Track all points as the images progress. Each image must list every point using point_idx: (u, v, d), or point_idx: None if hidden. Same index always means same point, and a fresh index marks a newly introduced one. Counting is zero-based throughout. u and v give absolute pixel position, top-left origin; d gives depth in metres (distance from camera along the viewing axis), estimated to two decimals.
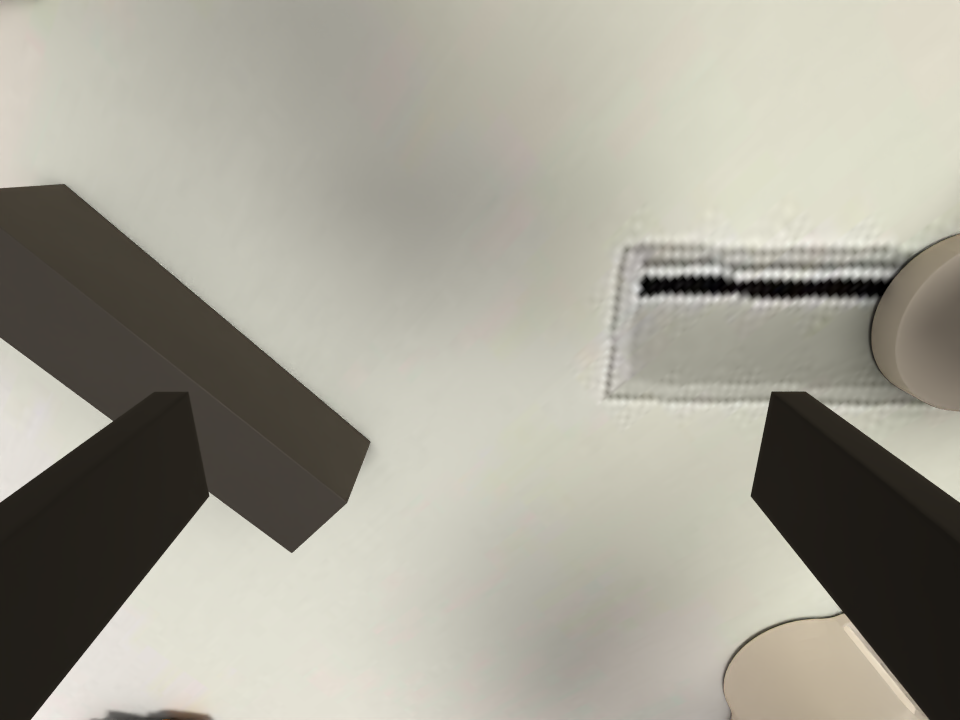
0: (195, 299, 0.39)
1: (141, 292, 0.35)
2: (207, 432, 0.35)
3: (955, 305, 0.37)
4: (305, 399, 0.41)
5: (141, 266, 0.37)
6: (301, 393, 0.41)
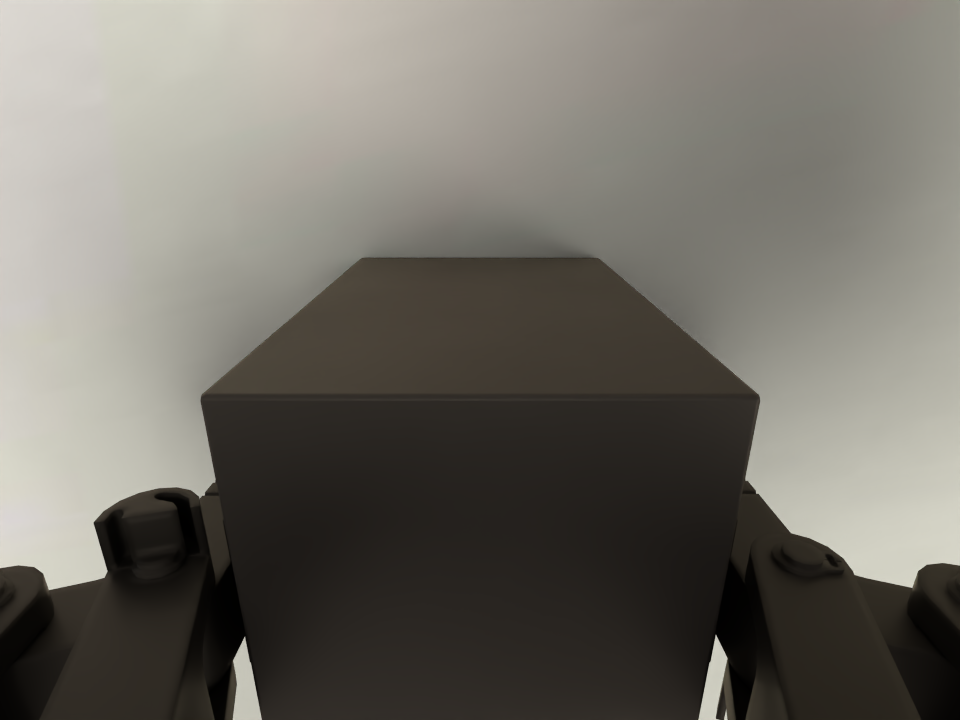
0: None
1: None
2: None
3: None
4: None
5: None
6: None
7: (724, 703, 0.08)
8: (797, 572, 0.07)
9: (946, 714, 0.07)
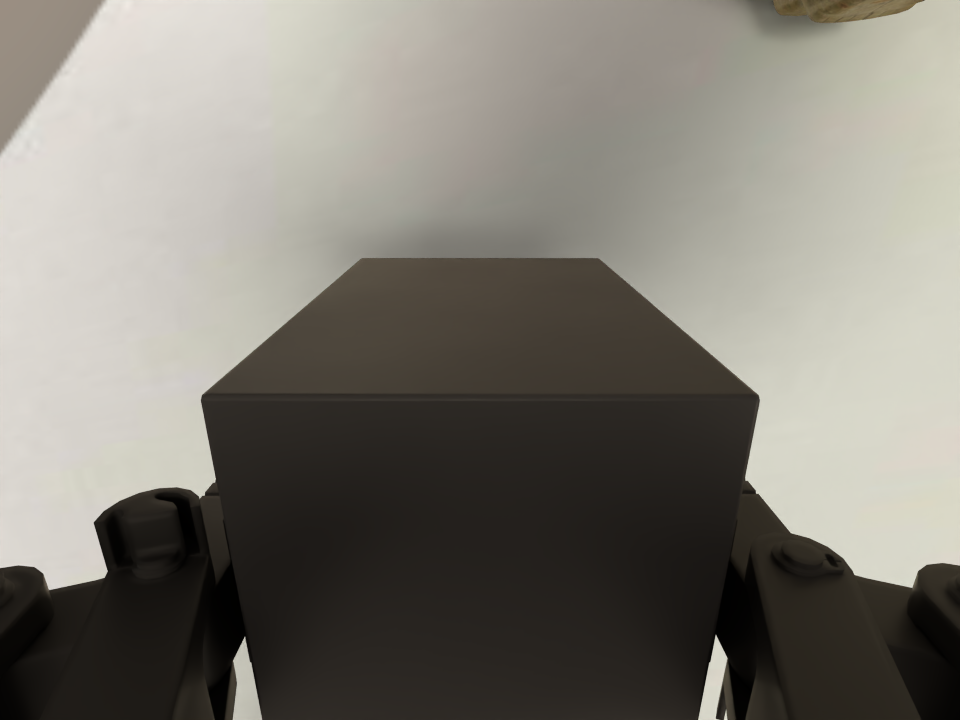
0: None
1: None
2: None
3: None
4: None
5: None
6: None
7: (724, 703, 0.08)
8: (797, 572, 0.07)
9: (946, 714, 0.07)
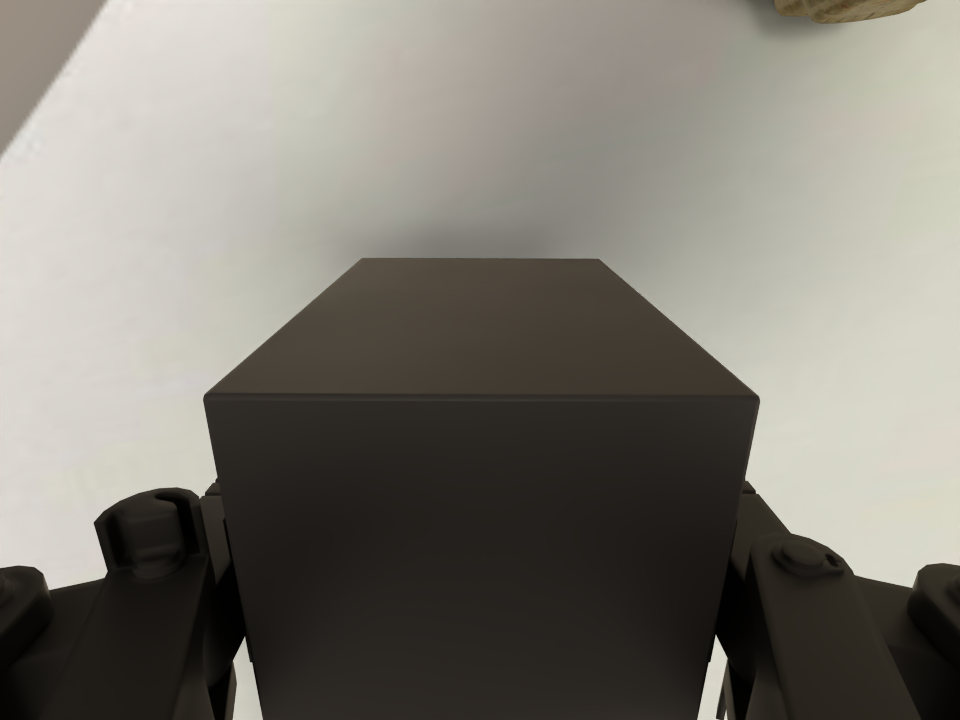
0: None
1: None
2: None
3: None
4: None
5: None
6: None
7: (724, 703, 0.08)
8: (797, 572, 0.07)
9: (946, 714, 0.07)
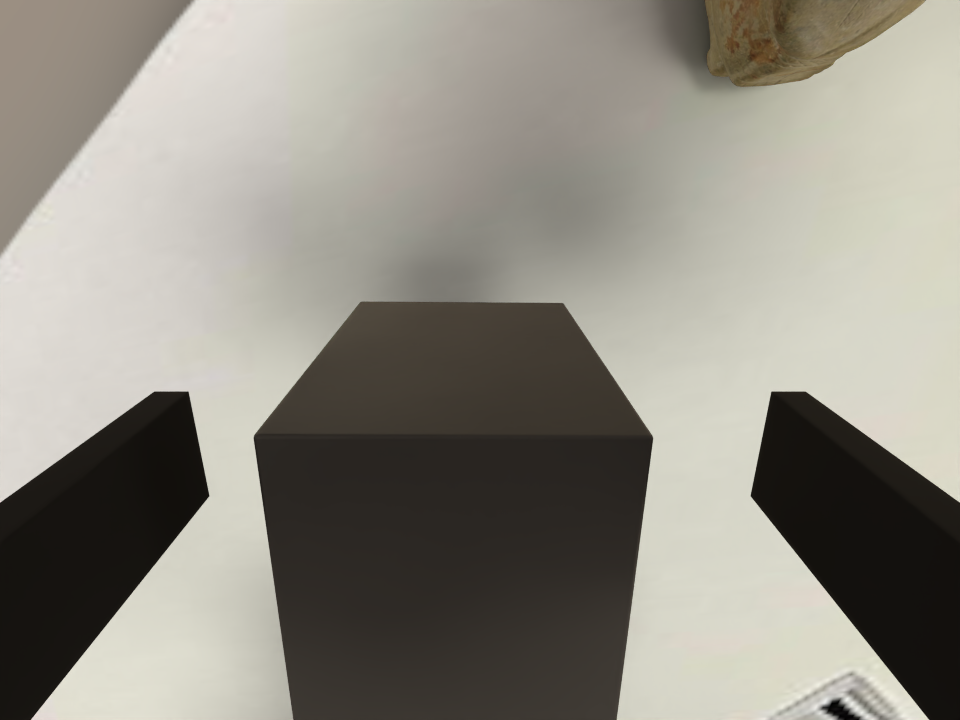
0: None
1: None
2: None
3: None
4: None
5: None
6: None
7: None
8: None
9: None
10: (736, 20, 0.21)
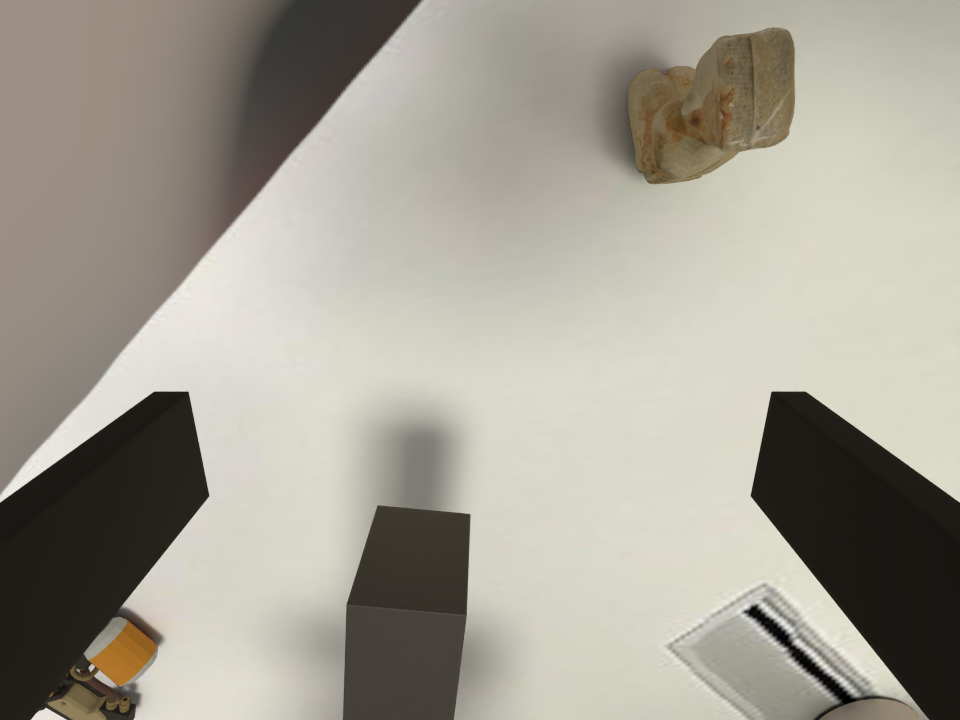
0: None
1: None
2: None
3: None
4: None
5: None
6: None
7: None
8: None
9: None
10: (643, 150, 0.35)
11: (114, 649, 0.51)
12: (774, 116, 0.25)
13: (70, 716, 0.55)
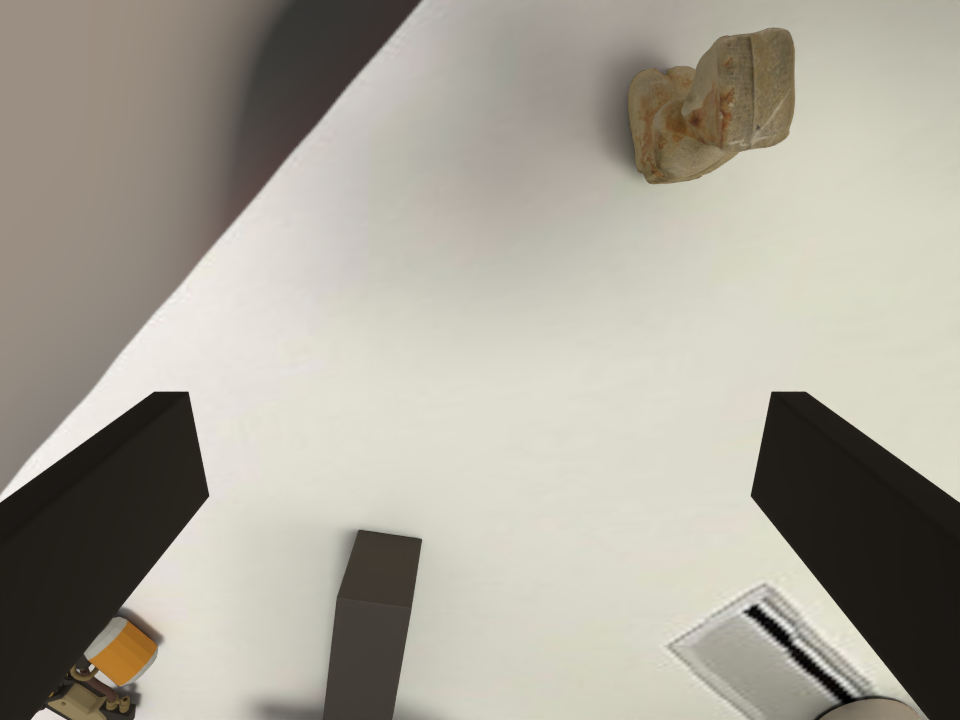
0: None
1: None
2: None
3: None
4: None
5: None
6: None
7: None
8: None
9: None
10: (643, 150, 0.35)
11: (114, 649, 0.51)
12: (774, 116, 0.25)
13: (70, 716, 0.55)
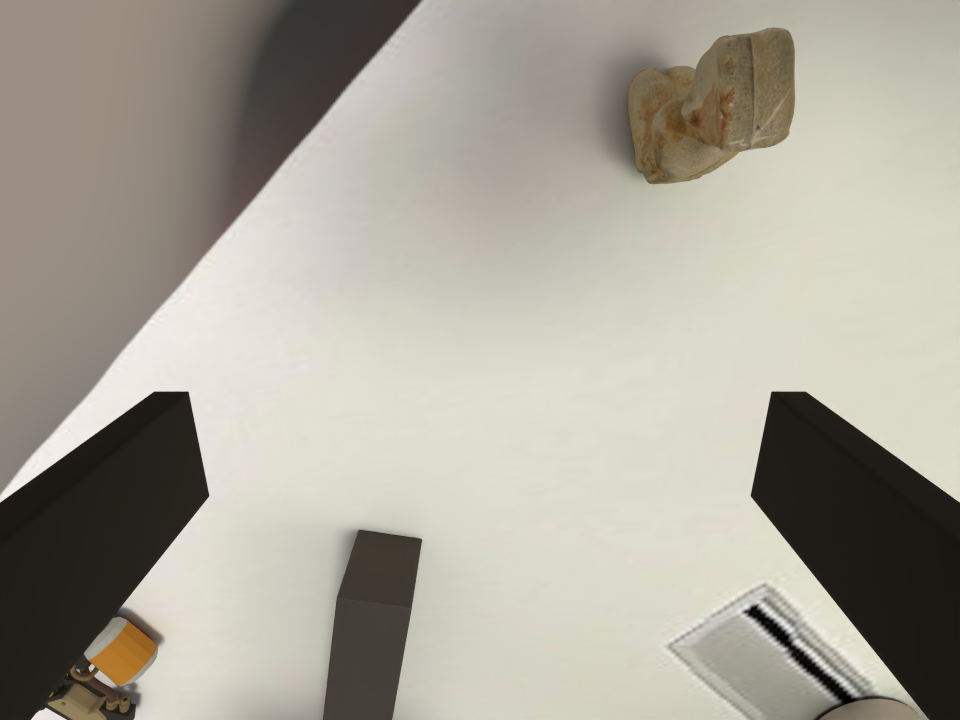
0: None
1: None
2: None
3: None
4: None
5: None
6: None
7: None
8: None
9: None
10: (643, 150, 0.35)
11: (114, 649, 0.51)
12: (774, 116, 0.25)
13: (70, 716, 0.55)
